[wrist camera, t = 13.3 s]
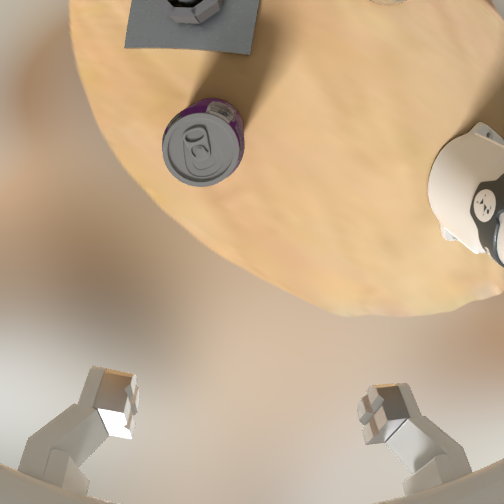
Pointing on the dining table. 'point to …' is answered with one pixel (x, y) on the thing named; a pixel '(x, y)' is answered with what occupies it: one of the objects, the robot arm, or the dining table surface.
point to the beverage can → (204, 142)
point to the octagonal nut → (190, 11)
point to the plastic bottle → (388, 2)
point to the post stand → (193, 27)
